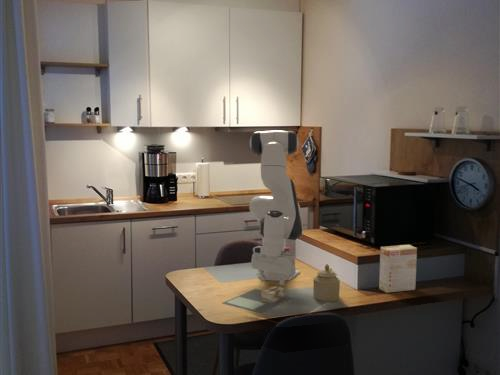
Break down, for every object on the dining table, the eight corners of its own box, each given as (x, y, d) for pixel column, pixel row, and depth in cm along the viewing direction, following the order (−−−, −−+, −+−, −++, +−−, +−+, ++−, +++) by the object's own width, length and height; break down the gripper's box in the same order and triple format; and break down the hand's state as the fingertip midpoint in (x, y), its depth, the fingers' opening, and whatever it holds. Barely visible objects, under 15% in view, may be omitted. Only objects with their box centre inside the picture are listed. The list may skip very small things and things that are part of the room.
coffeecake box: (406, 285, 264) (408, 244, 261) (415, 290, 257) (417, 247, 254) (378, 288, 259) (379, 246, 256) (386, 293, 252) (388, 250, 250)
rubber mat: (255, 290, 255) (255, 288, 255) (293, 299, 243) (293, 297, 243) (221, 304, 236) (221, 302, 236) (261, 314, 224) (261, 313, 224)
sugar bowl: (307, 291, 253) (308, 258, 251) (331, 290, 255) (332, 257, 253) (317, 303, 239) (318, 268, 237) (342, 301, 241) (344, 266, 239)
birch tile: (274, 294, 247) (274, 285, 246) (284, 297, 244) (284, 287, 243) (261, 301, 239) (261, 291, 238) (271, 303, 236) (271, 293, 235)
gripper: (298, 252, 234) (297, 285, 236) (258, 245, 246) (257, 276, 248) (290, 255, 229) (289, 288, 231) (249, 247, 241) (248, 279, 243)
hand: (272, 282), depth 239 cm, fingers open, 8 cm apart
